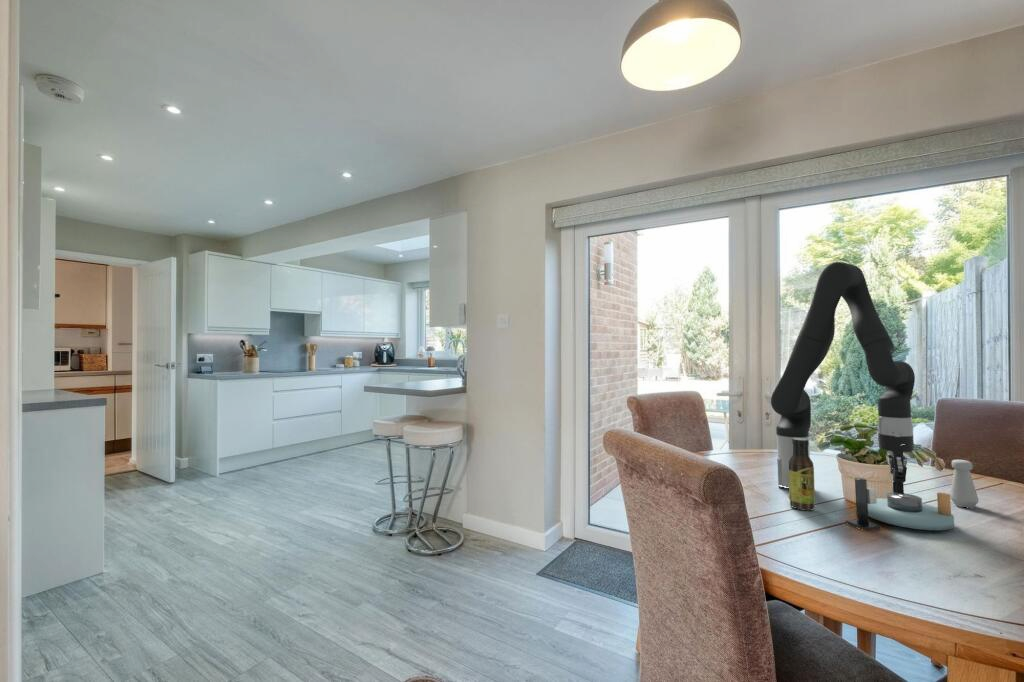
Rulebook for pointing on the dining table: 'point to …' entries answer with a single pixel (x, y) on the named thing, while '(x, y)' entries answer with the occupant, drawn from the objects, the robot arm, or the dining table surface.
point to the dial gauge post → (863, 505)
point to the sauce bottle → (801, 476)
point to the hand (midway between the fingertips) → (898, 495)
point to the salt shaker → (963, 485)
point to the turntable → (916, 515)
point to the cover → (904, 502)
